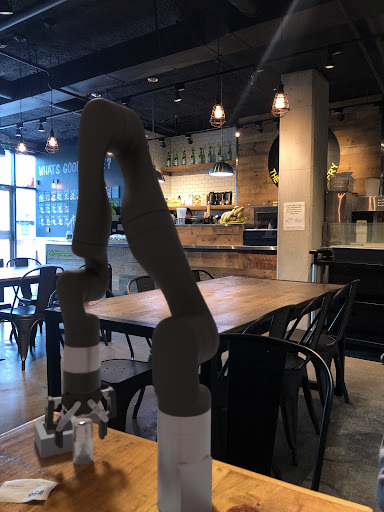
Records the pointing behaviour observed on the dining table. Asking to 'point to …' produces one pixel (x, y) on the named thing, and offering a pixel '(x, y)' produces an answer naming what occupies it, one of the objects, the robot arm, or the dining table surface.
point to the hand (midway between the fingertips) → (81, 442)
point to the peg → (82, 441)
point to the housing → (46, 439)
